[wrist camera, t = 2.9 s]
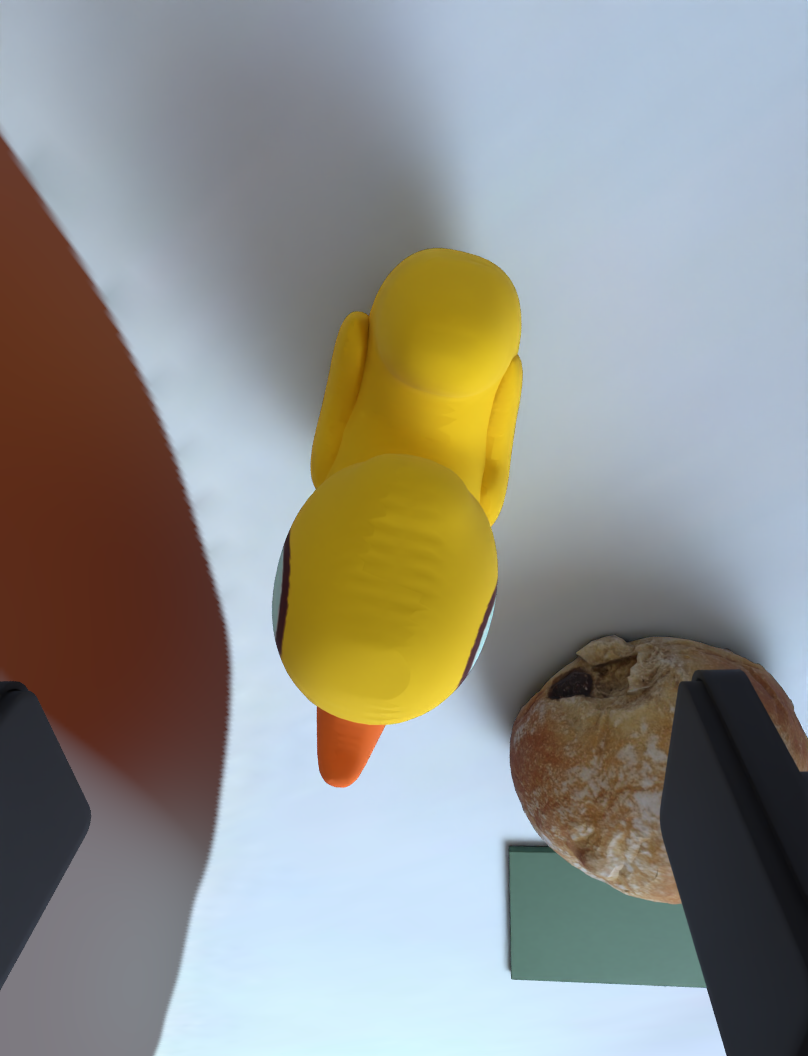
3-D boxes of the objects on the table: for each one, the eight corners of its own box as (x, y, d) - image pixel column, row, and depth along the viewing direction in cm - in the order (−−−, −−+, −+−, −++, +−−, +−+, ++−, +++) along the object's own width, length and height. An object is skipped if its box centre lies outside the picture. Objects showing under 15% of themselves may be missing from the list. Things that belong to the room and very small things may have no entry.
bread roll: (683, 551, 25) (682, 616, 18) (867, 767, 24) (944, 926, 17) (493, 681, 30) (432, 775, 22) (644, 870, 29) (631, 1033, 21)
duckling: (454, 594, 23) (445, 864, 14) (303, 559, 23) (204, 812, 14) (567, 256, 17) (666, 372, 9) (367, 204, 17) (264, 269, 8)
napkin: (508, 845, 30) (509, 851, 30) (814, 851, 28) (817, 858, 28) (511, 973, 35) (511, 979, 35) (767, 984, 34) (769, 990, 34)
